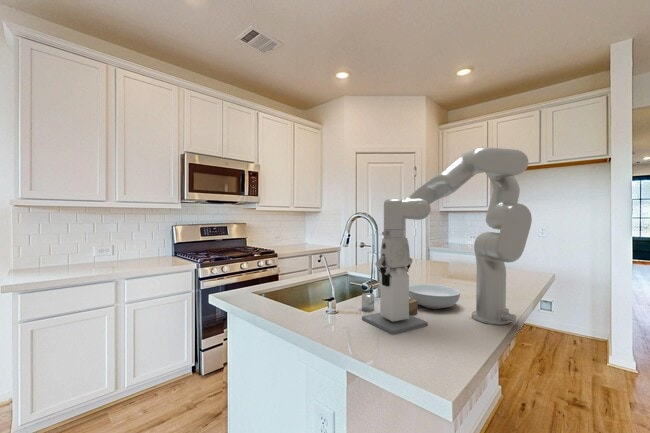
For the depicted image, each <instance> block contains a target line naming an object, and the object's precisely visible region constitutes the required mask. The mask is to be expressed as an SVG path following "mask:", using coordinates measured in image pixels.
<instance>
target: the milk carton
mask: <svg viewBox="0 0 650 433" xmlns="http://www.w3.org/2000/svg"><path fill="white" fill-rule="evenodd" d="M385 270H386V268H385ZM388 275H389V286H388V287H387V286H384V285H382V274H381V273H380V280H379V281H380V283H379V284H380V307H379V308H380V311H379V313H380V315H381V316H383V317H385V318H387V319H389V320H390V321H392V322H393V321H399V320H404V319H409V299H410V297H409V286H410V275H409V274H408V272H406V270H405V269H404V267H396V268H390V270H389V273H388Z"/></svg>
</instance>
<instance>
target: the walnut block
mask: <svg viewBox="0 0 650 433" xmlns="http://www.w3.org/2000/svg"><path fill="white" fill-rule="evenodd" d="M418 305H419V304H418V300H414V299H410V298H409V315H411V316H414V315H416V314H418V307H419V306H418Z"/></svg>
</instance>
